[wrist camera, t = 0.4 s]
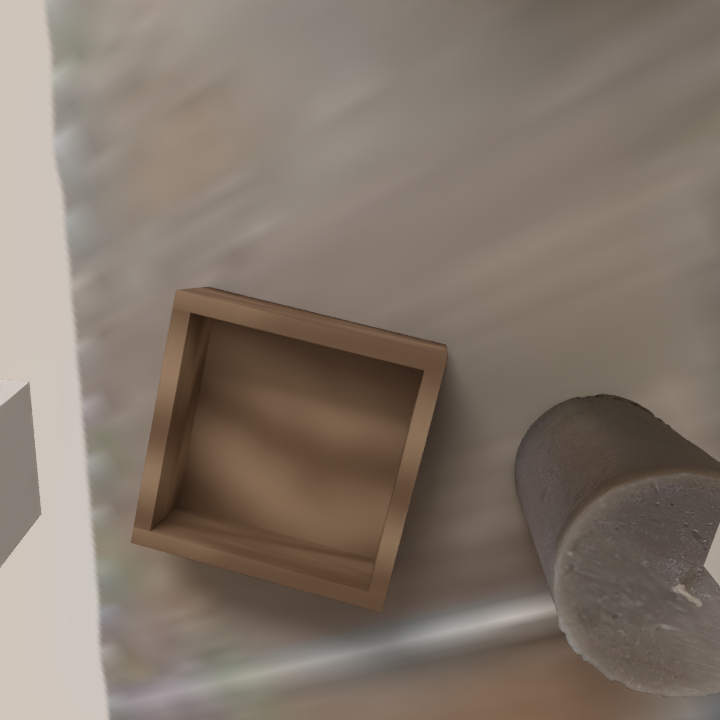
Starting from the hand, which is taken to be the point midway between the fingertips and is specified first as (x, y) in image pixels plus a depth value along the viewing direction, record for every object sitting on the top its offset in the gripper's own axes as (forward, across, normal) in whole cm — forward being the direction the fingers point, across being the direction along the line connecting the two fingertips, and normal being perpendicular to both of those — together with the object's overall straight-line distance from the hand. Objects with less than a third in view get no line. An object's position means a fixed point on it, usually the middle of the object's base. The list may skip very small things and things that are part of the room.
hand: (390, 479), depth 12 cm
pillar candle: (+23, +15, -12) cm, 30 cm away
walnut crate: (+25, -3, -13) cm, 28 cm away
